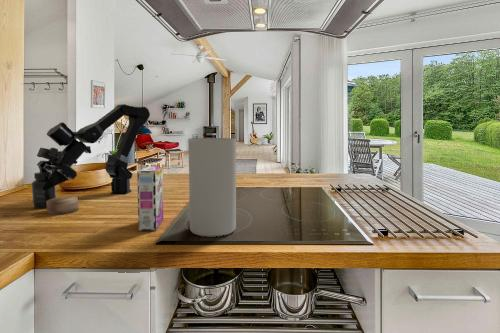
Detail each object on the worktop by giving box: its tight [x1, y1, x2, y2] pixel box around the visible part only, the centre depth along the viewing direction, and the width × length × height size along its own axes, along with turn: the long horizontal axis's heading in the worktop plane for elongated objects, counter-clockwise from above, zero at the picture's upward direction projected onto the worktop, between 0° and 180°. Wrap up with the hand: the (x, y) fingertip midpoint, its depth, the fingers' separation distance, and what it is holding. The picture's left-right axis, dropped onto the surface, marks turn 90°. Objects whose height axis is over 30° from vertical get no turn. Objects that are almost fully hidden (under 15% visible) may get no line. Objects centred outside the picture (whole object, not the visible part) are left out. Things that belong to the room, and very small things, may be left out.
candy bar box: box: [136, 166, 164, 232], centre depth 89 cm, size 11×5×16 cm, turn 5°
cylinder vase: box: [187, 137, 237, 238], centre depth 85 cm, size 12×12×25 cm
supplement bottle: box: [31, 171, 57, 209], centre depth 110 cm, size 7×7×12 cm
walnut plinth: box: [46, 195, 80, 216], centre depth 104 cm, size 9×9×4 cm
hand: (39, 188), depth 108 cm, fingers closed on supplement bottle, 7 cm apart
